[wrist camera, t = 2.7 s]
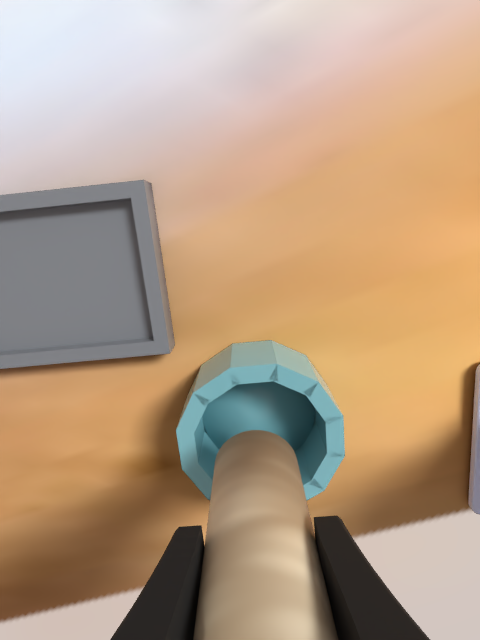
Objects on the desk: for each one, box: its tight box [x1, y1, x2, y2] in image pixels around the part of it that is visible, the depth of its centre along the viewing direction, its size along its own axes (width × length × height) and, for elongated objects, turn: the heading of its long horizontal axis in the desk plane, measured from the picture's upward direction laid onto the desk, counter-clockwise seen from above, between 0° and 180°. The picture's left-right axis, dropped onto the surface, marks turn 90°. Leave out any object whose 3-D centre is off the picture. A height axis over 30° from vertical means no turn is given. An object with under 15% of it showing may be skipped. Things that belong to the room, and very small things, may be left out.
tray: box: [0, 180, 175, 369], centre depth 16 cm, size 9×7×1 cm
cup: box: [176, 340, 345, 500], centre depth 16 cm, size 7×7×3 cm
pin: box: [193, 430, 338, 640], centre depth 10 cm, size 3×3×8 cm
